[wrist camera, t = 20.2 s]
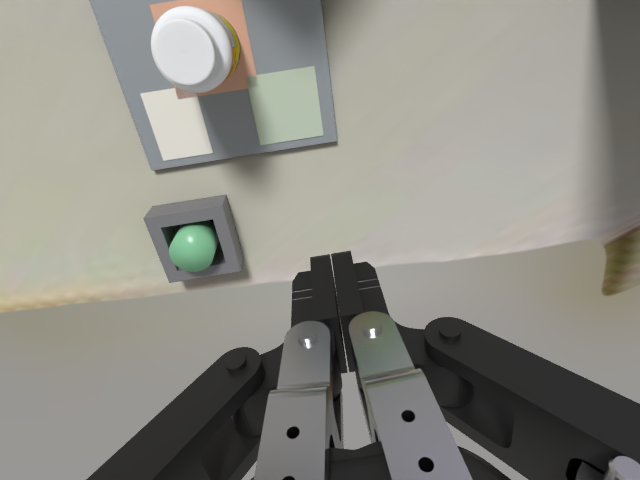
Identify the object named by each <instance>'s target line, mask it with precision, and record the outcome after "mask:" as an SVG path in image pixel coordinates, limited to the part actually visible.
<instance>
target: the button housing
mask: <svg viewBox="0 0 640 480" xmlns="http://www.w3.org/2000/svg"><path fill="white" fill-rule="evenodd" d="M212 219H213V221H214V225H215V228H216V231H217V234H218V238H219V241H220V244H221V248H222V251H219V252H215V254H214V258H213V261H212V263H211V264H210V265H209V266H208V267H207V268H206V269H204V270H202V271H198V272H189V271H185V270H182V269H180V268H179V267H177V266H176V265H175V264H174V263H173V262H172V260H171V258H170V255H169V247H170V245H171V243H172V241H173V239H174V237H175V232H174V229H173V226H175V225H181V224H187V223H193V222H200V221H206V220H212ZM144 221H145V223H146V226H147V228H148V231H149V233H150V236H151V238H152V241H153V243H154V246H155V248H156V251H157V253H158V256H159V258H160V261H161V263H162V265H163V268H164V270H165V273H166V275H167V278H168V280H169V283H172V282H178V281H184V280H190V279H197V278H203V277H209V276H215V275H222V274H228V273H234V272H240V271H241V268H242V263H243V254H242V250H241V247H240V243H239V239H238V236H237V232H236V229H235V225H234V221H233V218H232V214H231V210H230V207H229V203H228V200H227V196H226V195H221V196H215V197H209V198H202V199H196V200H190V201H184V202H177V203H171V204H165V205H159V206H152V208H151V209H150V210H149V212H148V213H147V214H146V216H145V217H144Z"/></svg>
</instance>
